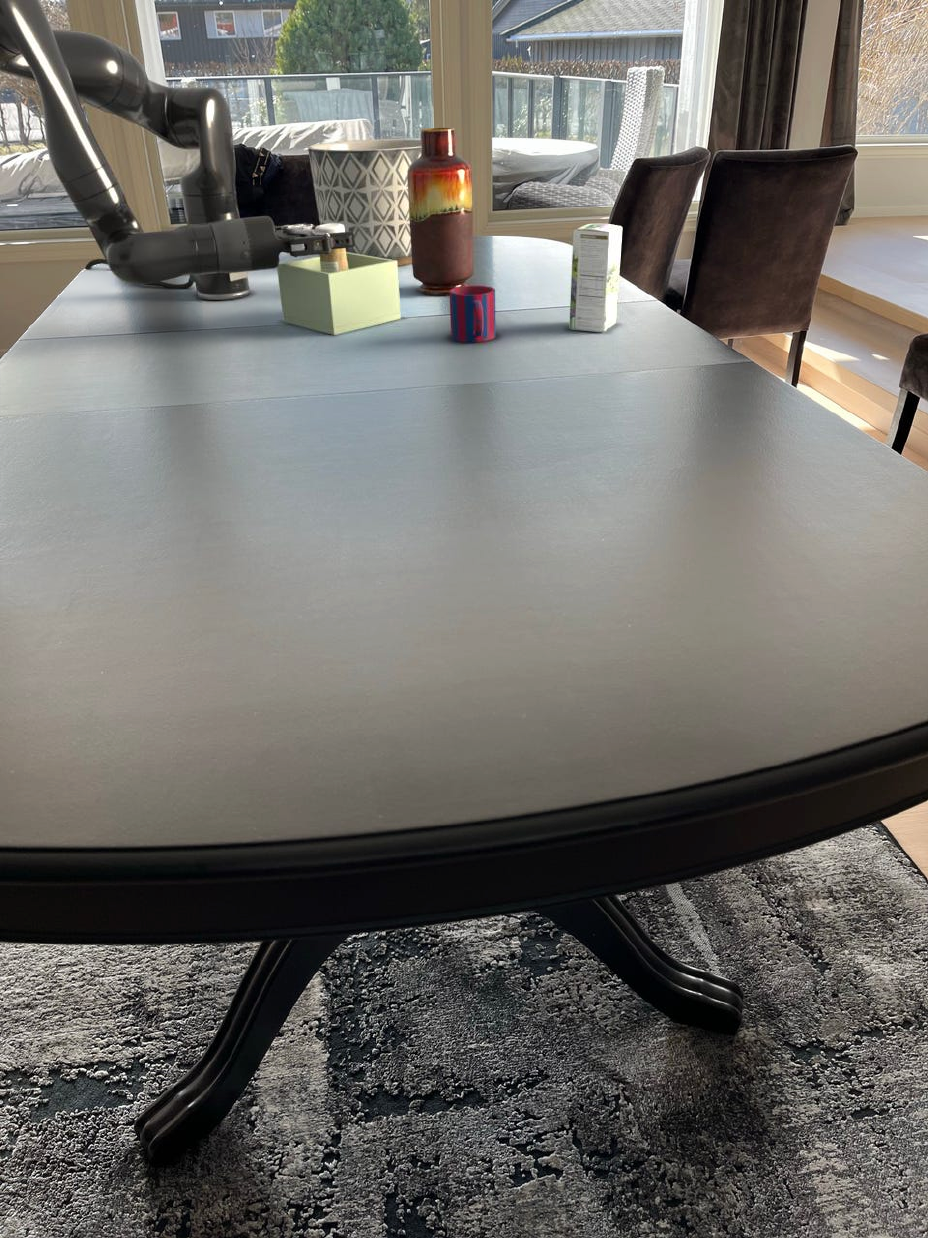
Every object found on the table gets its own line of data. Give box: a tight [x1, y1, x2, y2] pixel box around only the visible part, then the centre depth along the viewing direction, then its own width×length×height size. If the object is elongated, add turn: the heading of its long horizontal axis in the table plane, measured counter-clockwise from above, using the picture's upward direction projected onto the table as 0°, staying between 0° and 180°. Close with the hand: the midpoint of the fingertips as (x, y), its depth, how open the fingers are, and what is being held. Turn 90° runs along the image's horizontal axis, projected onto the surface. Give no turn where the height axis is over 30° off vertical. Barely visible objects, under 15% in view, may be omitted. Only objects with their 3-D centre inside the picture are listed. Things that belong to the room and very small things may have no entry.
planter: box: [307, 138, 421, 266], centre depth 193 cm, size 26×26×22 cm
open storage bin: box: [276, 252, 402, 336], centre depth 151 cm, size 14×14×9 cm
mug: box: [449, 285, 497, 344], centre depth 139 cm, size 7×10×7 cm
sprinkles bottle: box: [315, 223, 348, 273], centre depth 149 cm, size 5×5×13 cm
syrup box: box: [568, 222, 623, 333], centre depth 141 cm, size 6×6×14 cm
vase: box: [407, 127, 474, 297], centre depth 164 cm, size 11×11×26 cm
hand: (346, 234), depth 148 cm, fingers open, 8 cm apart
